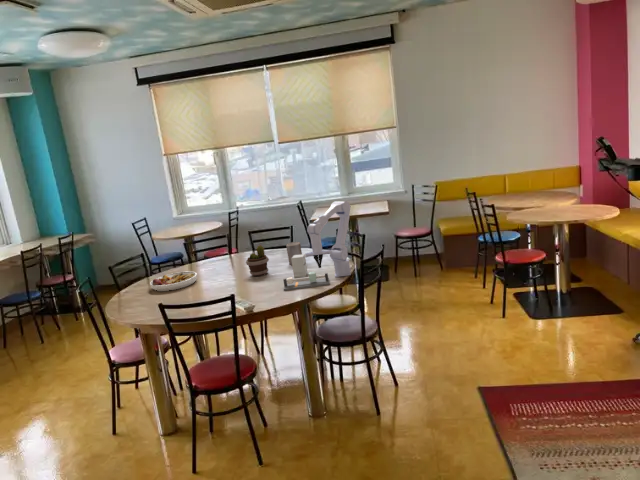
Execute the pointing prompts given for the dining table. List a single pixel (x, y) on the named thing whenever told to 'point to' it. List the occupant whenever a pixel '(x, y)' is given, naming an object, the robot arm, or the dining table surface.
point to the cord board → (305, 282)
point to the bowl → (174, 281)
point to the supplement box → (299, 265)
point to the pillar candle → (293, 250)
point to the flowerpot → (258, 262)
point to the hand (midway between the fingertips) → (319, 267)
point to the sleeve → (312, 276)
